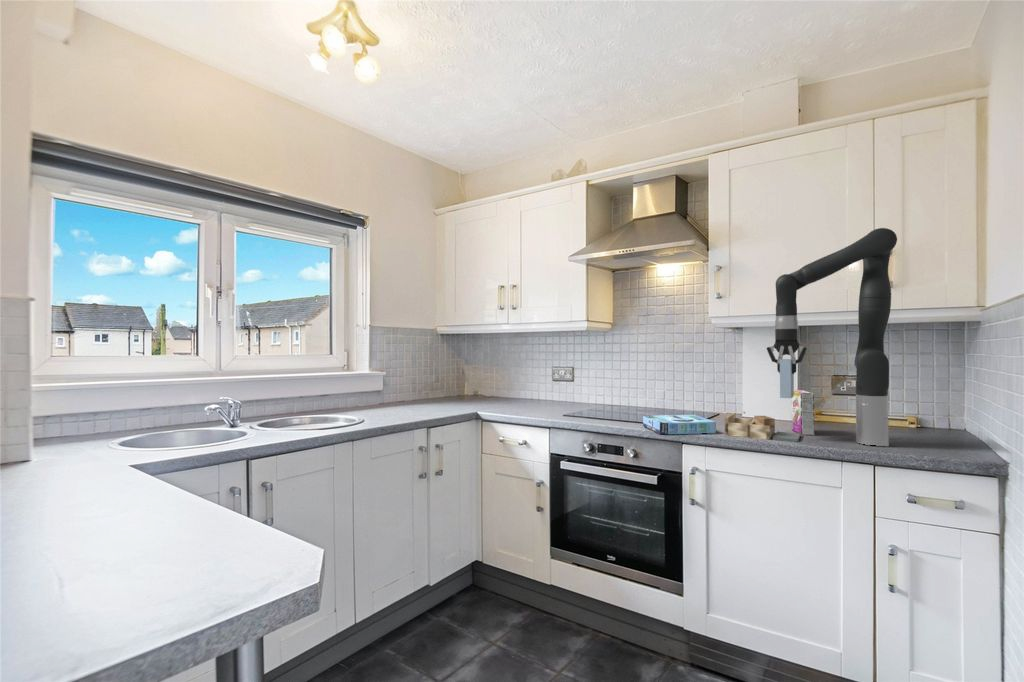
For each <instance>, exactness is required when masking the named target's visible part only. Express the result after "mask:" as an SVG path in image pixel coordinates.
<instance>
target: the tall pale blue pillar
mask: <svg viewBox="0 0 1024 682" xmlns="http://www.w3.org/2000/svg"><path fill="white" fill-rule="evenodd" d="M794 375H795V373H794V374H792V360H791V358H782V360H780V374H779V398H780V399H791V398H792V397H793V396H794V390H795V386H794V385H795V383H794V382H795V381H794V378H795V376H794Z"/></svg>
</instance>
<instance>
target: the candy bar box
mask: <svg viewBox="0 0 1024 682" xmlns="http://www.w3.org/2000/svg"><path fill="white" fill-rule="evenodd" d="M790 399H791V401H790V402H791V430H792V431H793V432H794V433H801V436H815V393H813V392H809V391H806V390H803V389H802V390H801V389H800V390H799V389H797V390H796V389H794V396H793V397H792V398H790Z"/></svg>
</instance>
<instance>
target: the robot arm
mask: <svg viewBox="0 0 1024 682" xmlns="http://www.w3.org/2000/svg"><path fill="white" fill-rule="evenodd" d="M897 242H898V237H897V234H896V232H895V231H894V230H892V229H890V228H887V227H879V228H876V229H873V230H871V231H870V232H869V233H867V234H866V235H864V236H863V237H861V238H860V239H858V240H856V241H854V242H853V243H851V244H849V245H848V246H846V247H844V248H841V249H840V250H837V251H834V252H833V253H830V254H827V255H825V256H822V257H821V258H818V259H816V260H813V261H812V262H810V263H807V264H805V265H803V266H802V267H800V268H799V269H798V270H795V271H793V272H791V273H789V274H787V273H785V274H782V275H780V276H779V277H778V278H777V279H776V280H775V297H776V304H775V320H774V324H775V325H774V329H775V331H774V332H775V333H774V338H775V339H774V340H775V341H774V344H773V345H771V346H768V347H766V350H767V351H766V352H767V354H768V356H769V358H770V360H771V362H772V363H776V364H777V365H776V367H777V373H779V375H780V360H782V359H784V356H785V355H787V356H789V357H790V359H791V360H792V374H794V375H795V373H797V364H800V363H801V362H802V361H803V359H804V357H805V355H806V353H807V350H808V347H806V346H803V345H800V343H799V319H798V305H797V296H798V295H797V293H798V290H801V289H802V288H804V287H806V286H808V285H811V284H813V283H816V282H817V281H820V280H823V279H825V278H827V277H829V276H831V275H834V274H836V273H838V272H839V271H841V270H842V269H844V268H846V267H848V266H850V265H852V264H854V263H857V262H859V261H861V260H862V266H863V267H862V276H861V281H860V287H859V297H858V298H859V299H858V314H857V315H858V319H857V320H858V341H857V348H856V353H855V358H854V366H855V367H856V372H855V373H856V381H855V382H856V383H855V442H857V443H856V444H859V443H860V444H859V445H863V444H865V446H870V445H876V446H875V447H890V445H889V444H890V443H889V442H890V439H889V437H890V433H889V428H890V427H889V423H890V422H889V396H888V394H889V387H890V363H889V362H890V361H889V358H888V357H887V355H886V354H885V349H884V347H885V342H884V340H885V333H886V329H887V326H888V323H889V319H890V314H891V307H892V288H891V281H890V276H889V265H890V264H889V263H890V257H891V254H892V251H893V250H894V248H895V247H896V245H897ZM775 350H776V351H777V352H778V357H777V358H776V356H775V354H774V351H775ZM798 350H799V352H800V354H799V357H798V359H796V355H795V353H796V352H797V351H798Z"/></svg>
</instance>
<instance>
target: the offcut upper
mask: <svg viewBox="0 0 1024 682" xmlns="http://www.w3.org/2000/svg"><path fill="white" fill-rule="evenodd" d="M753 419H754V425H765V426H770V428H775V429H776V427H775V426H776V424H775V423H776V420H775V418H773V417H770V416H767V415H754V417H753Z"/></svg>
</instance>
